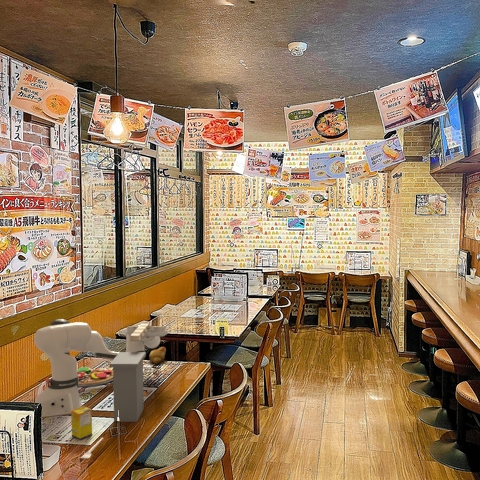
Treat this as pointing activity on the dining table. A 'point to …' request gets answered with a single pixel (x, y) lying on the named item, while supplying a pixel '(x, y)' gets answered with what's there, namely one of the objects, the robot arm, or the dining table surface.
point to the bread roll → (157, 355)
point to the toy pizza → (94, 376)
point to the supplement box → (81, 422)
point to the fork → (88, 454)
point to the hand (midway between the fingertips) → (144, 326)
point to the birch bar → (139, 332)
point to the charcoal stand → (128, 385)
